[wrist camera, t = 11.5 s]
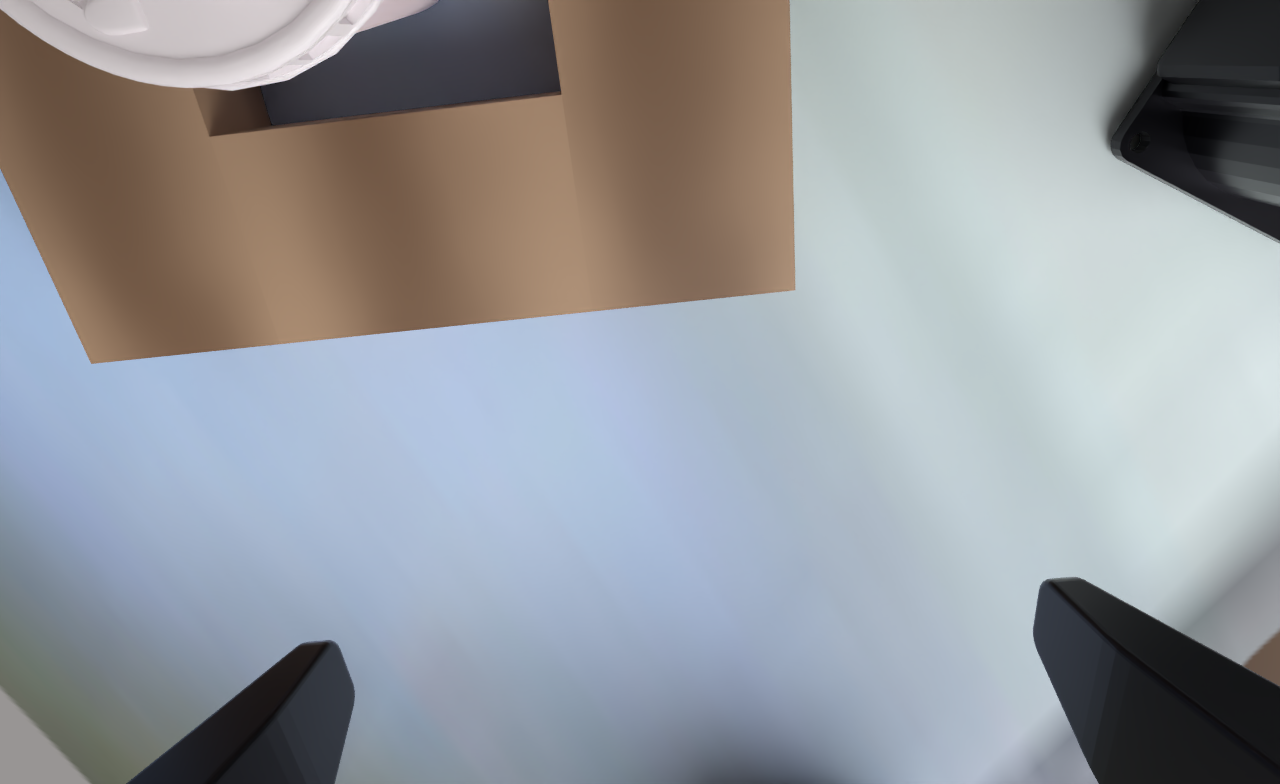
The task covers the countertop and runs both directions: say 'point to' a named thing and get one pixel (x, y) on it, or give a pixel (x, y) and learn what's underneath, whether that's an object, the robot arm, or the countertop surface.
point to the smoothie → (204, 35)
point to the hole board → (412, 189)
